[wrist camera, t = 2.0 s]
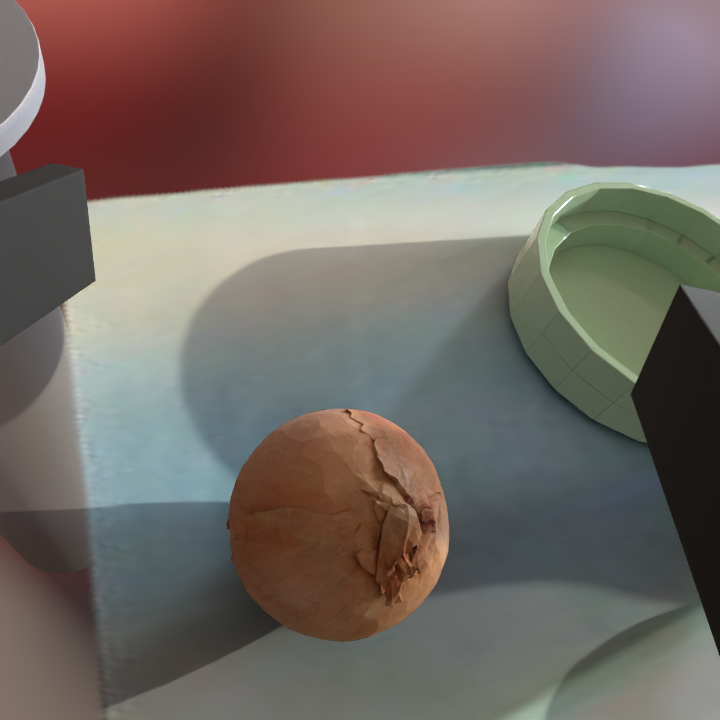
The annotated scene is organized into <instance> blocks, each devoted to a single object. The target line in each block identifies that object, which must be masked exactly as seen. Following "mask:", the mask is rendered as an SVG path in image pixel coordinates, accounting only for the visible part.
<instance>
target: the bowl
mask: <svg viewBox="0 0 720 720" xmlns="http://www.w3.org/2000/svg"><path fill="white" fill-rule="evenodd" d="M679 285H684V286H690V287H695V288H700V289H705V290H710V291H715V292H719V294H720V219H718V218H717V217H715V216H714V215H712V214H711V213H709V212H708V211H706V210H705V209H703V208H701V207H699V206H696V205H694V204H692V203H690V202H688V201H685V200H683V199H681V198H679V197H677V196H674V195H672V194H670V193H668V192H664V191H660V190H656V189H652V188H648V187H644V186H640V185H636V184H631V183H593V184H590V185H586V186H583V187H580V188H577V189H574V190H571V191H568V192H566V193H565V194H563V195H562V196H561V197H560V198H559V199H558V200H557V201H556V202H555V203H554V204H552V205H551V206H550V207H549V208H548V209H547V210H546V211H545V213H544V214H543V216H542V217H541V219H540V221H539V222H538V224H537V225H536V227H535V229H534V230H533V232H532V233H531V235H530V237H529V238H528V240H527V241H526V243H525V244H524V246H523V248H522V249H521V251H520V252H519V254H518V256H517V258H516V261H515V264H514V266H513V269H512V272H511V275H510V277H509V280H508V291H509V305H510V317H511V319H512V321H513V324H514V326H515V329H516V331H517V333H518V336H519V338H520V340H521V343H522V345H523V347H524V350H525V352H526V354H527V355H528V356H529V357H530V359H531V360H532V361H533V363H534V364H535V365H536V366H537V368H538V369H539V370H540V371H541V373H542V374H543V375H544V377H545V378H546V379H547V380H548V382H549V383H550V384H551V385H552V387H553V388H554V389H555V390H556V391H557V392H559V393H560V394H561V395H562V396H564V397H565V398H566V399H567V400H569V401H570V402H571V403H572V404H574V405H575V406H576V407H577V408H579V409H580V410H581V411H582V412H584V413H585V414H586V415H587V416H589V417H590V418H591V419H594V420H595V421H597V422H599V423H601V424H603V425H605V426H607V427H609V428H611V429H614V430H616V431H618V432H620V433H622V434H624V435H626V436H628V437H630V438H633V439H635V440H637V441H640V442H646V443H647V441H646V438H645V435H644V432H643V429H642V426H641V423H640V420H639V417H638V415H637V412H636V409H635V406H634V403H633V400H632V397H631V392H632V390H633V388H634V385H635V383H636V381H637V379H638V376H639V374H640V372H641V370H642V367H643V365H644V363H645V361H646V358H647V356H648V354H649V352H650V350H651V347H652V345H653V343H654V341H655V338H656V336H657V334H658V332H659V329H660V327H661V325H662V323H663V321H664V318H665V316H666V314H667V312H668V309H669V307H670V305H671V303H672V300H673V298H674V296H675V294H676V291H677V289H678V287H679Z"/></svg>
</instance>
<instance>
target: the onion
mask: <svg viewBox="0 0 720 720" xmlns="http://www.w3.org/2000/svg"><path fill="white" fill-rule="evenodd" d="M226 526H227V529H230V545H231V550H232V558H231V561H230V563H231V562H232V561H233V560H234V564H235V567H236V572H237V574H238V576H239V577H240V579H241V581H242V583H243V585H244V587H245V589H246V591H247V593H248V594H249V595H250V597H251V598H252V599H253V600H254V601H255V602H256V603H257V604H258V605H259V606H260V607H261V608H262V609H263V610H264V611H265V612H266V613H268V614H269V615H270V616H271V617H273V618H274V619H276V620H277V621H278V622H280V623H281V624H282V625H284V626H286V627H287V628H289V629H291V630H293V631H296V632H298V633H301V634H304V635H307V636H311V637H315V638H319V639H324V640H330V641H340V642H344V641H354V640H359V639H364V638H368V637H370V636H372V635H375V634H377V633H379V632H382V631H384V630H386V629H388V628H390V627H392V626H394V625H396V624H398V623H399V622H401V621H403V620H404V619H405V618H406V617H408V616H409V615H410V614H411V613H412V612H413V611H415V610H416V608H417V607H418V606H419V605H420V604H421V603H422V602H423V601H424V600H425V598H426V597H427V596H428V595H429V593H430V592H431V591H432V589H433V588H434V586H435V585H436V583H437V581H438V579H439V576H440V573H441V570H442V568H443V566H444V563H445V560H446V557H447V554H448V547H449V520H448V511H447V504H446V500H445V496H444V492H443V488H442V485H441V482H440V480H439V477H438V474H437V472H436V469H435V466H434V464H433V463H432V461H431V460H430V458H429V457H428V455H427V453H426V452H425V451H424V449H423V448H422V447H421V446H420V445H419V444H418V443H417V442H416V441H415V440H414V439H413V438H412V437H411V436H410V435H409V434H408V433H407V432H406V431H404V430H403V429H401V428H400V427H399V426H397V425H395V424H394V423H392V422H391V421H389V420H387V419H385V418H383V417H381V416H379V415H376V414H373V413H370V412H366V411H363V410H356V409H325V410H321V411H315V412H310V413H307V414H304V415H302V416H299V417H297V418H295V419H292V420H290V421H288V422H286V423H284V424H283V425H281V426H280V427H279V428H278V429H276V430H275V431H274V432H272V433H271V434H270V435H269V436H268V437H267V438H266V439H265V440H264V441H263V442H262V443H261V444H260V445H259V446H258V447H257V448H256V449H255V450H254V452H253V453H252V454H251V456H250V457H249V458H248V460H247V461H246V463H245V464H244V466H243V467H242V469H241V471H240V473H239V475H238V477H237V480H236V482H235V485H234V489H233V492H232V496H231V500H230V510H229V517H228V521H227V524H226Z"/></svg>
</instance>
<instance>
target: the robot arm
mask: <svg viewBox="0 0 720 720" xmlns="http://www.w3.org/2000/svg"><path fill="white" fill-rule="evenodd" d="M94 281H96V280H95V271H94V262H93V253H92V244H91V235H90V226H89V216H88V207H87V198H86V190H85V180H84V171H83V169H79V168H74V167H69V166H64V165H58V164H53V163H51V164H48V165H46V166H43V167H40V168H37V169H34V170H32V171H29V172H26V173H23V174H20V175H18V176H15V177H12V178H9V179H6V180H4V181H1V182H0V346H1V345H3V344H4V343H6V342H7V341H9V340H10V339H11V338H13V337H14V336H16V335H17V334H19V333H20V332H22V331H23V330H25V329H26V328H27V327H29V326H30V325H32V324H33V323H35V322H36V321H38V320H39V319H41V318H42V317H43V316H45V315H46V314H48V313H49V312H51V311H52V310H54V309H55V308H56V307H58V306H59V305H61V304H62V303H64V302H65V301H67V300H68V299H70V298H71V297H72V296H74V295H75V294H77V293H78V292H80V291H81V290H83V289H84V288H86V287H87V286H88V285H90V284H91V283H93V282H94ZM631 397H632V400H633V403H634V406H635V409H636V412H637V415H638V417H639V420H640V423H641V426H642V429H643V432H644V435H645V438H646V441H647V444H648V447H649V450H650V453H651V456H652V459H653V461H654V464H655V467H656V470H657V473H658V476H659V479H660V482H661V485H662V488H663V491H664V494H665V497H666V500H667V503H668V505H669V508H670V511H671V514H672V517H673V520H674V523H675V526H676V529H677V532H678V535H679V538H680V541H681V544H682V547H683V550H684V552H685V555H686V558H687V561H688V564H689V567H690V570H691V573H692V576H693V579H694V582H695V585H696V588H697V591H698V594H699V596H700V599H701V602H702V605H703V608H704V611H705V614H706V617H707V620H708V623H709V626H710V629H711V632H712V635H713V638H714V640H715V643H716V646H717V649H718V652H719V655H720V294H719V292H715V291H710V290H705V289H700V288H695V287H690V286H684V285H679V287H678V289H677V291H676V294H675V296H674V298H673V300H672V303H671V305H670V307H669V309H668V312H667V314H666V316H665V318H664V321H663V323H662V325H661V327H660V329H659V332H658V334H657V336H656V338H655V341H654V343H653V345H652V347H651V350H650V352H649V354H648V356H647V358H646V361H645V363H644V365H643V367H642V370H641V372H640V374H639V376H638V379H637V381H636V383H635V385H634V388H633V390H632V392H631Z"/></svg>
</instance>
